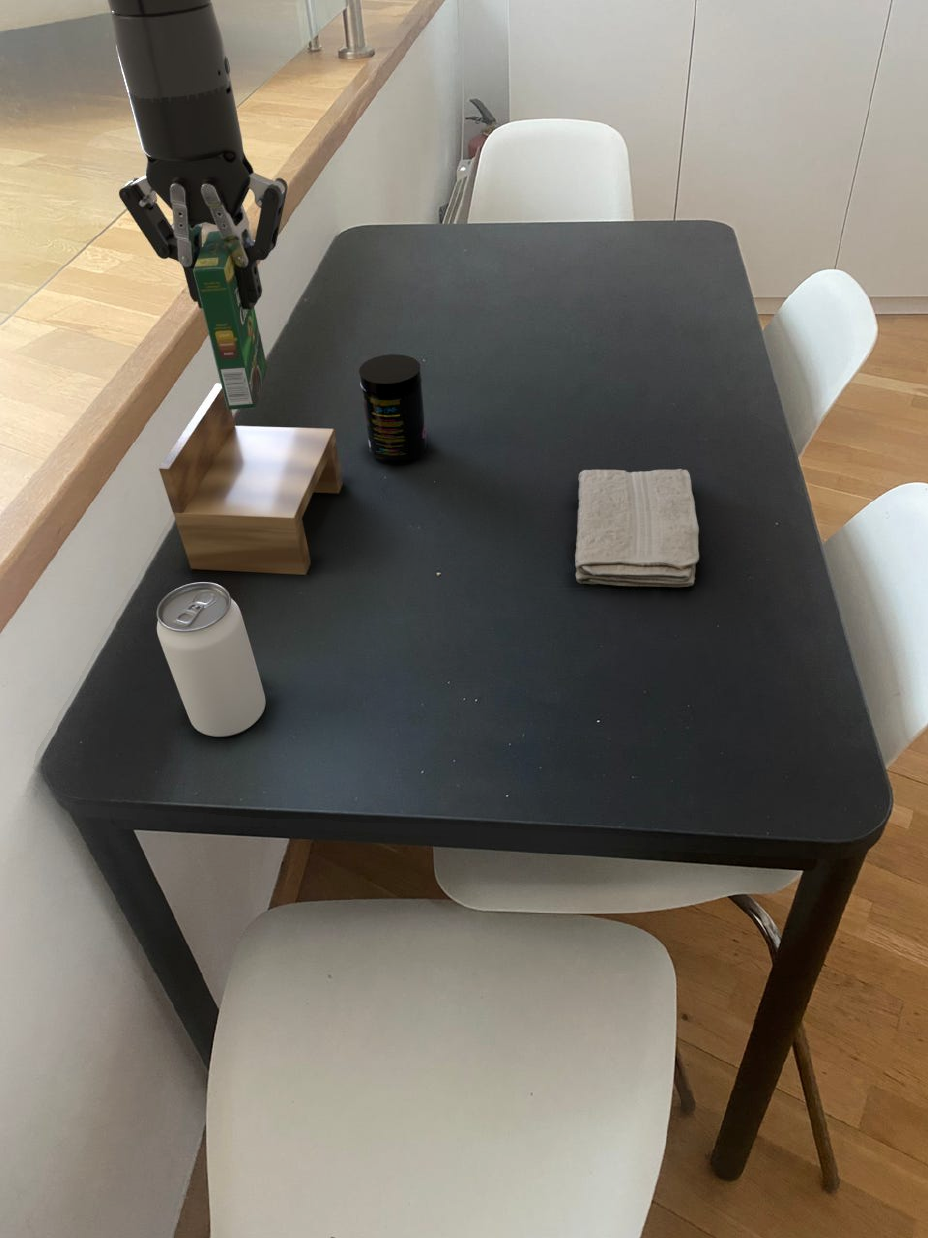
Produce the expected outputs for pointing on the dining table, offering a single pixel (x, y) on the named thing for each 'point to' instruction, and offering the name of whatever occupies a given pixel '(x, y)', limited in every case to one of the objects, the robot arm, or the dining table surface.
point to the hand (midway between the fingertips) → (229, 304)
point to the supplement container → (393, 408)
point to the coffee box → (229, 325)
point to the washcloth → (636, 528)
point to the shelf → (247, 490)
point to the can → (210, 658)
